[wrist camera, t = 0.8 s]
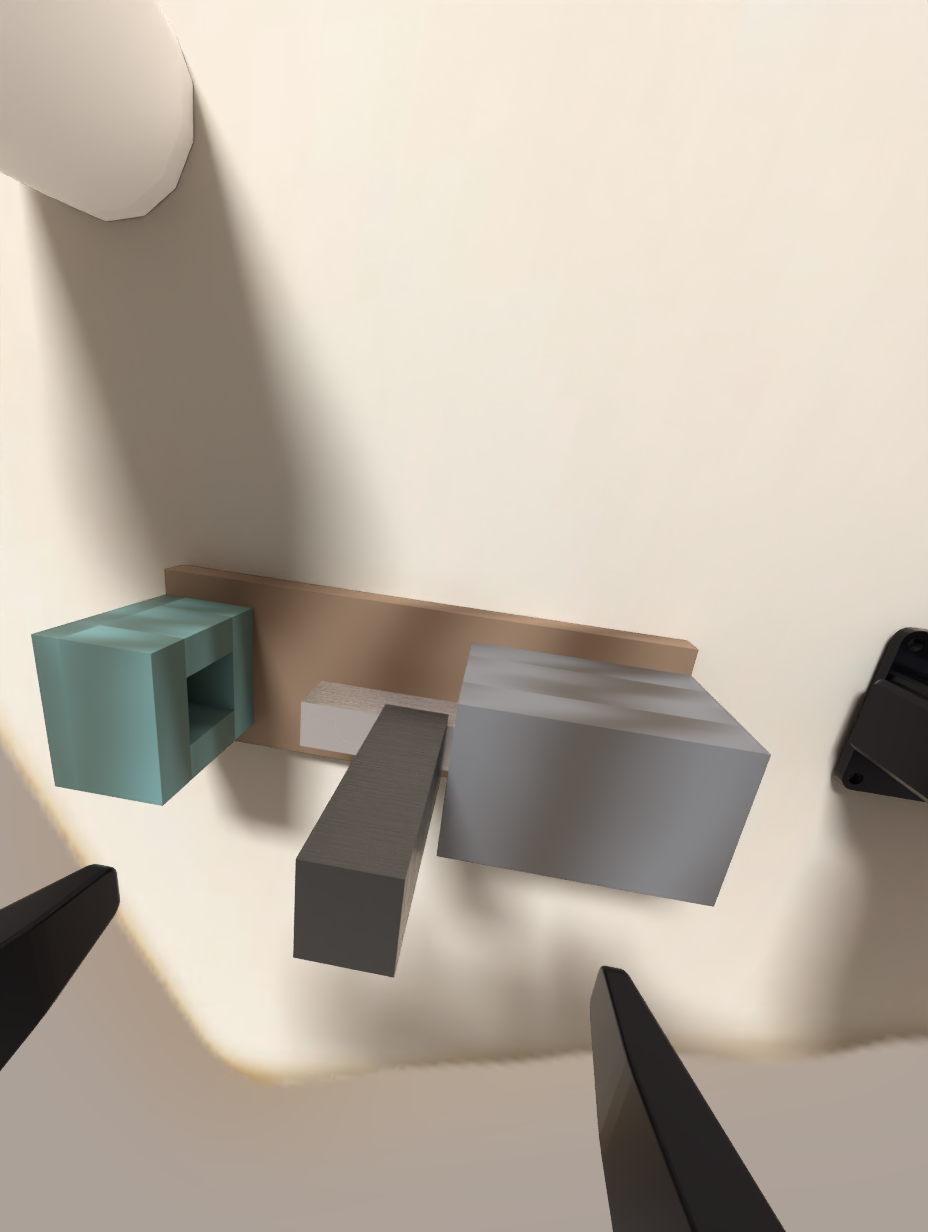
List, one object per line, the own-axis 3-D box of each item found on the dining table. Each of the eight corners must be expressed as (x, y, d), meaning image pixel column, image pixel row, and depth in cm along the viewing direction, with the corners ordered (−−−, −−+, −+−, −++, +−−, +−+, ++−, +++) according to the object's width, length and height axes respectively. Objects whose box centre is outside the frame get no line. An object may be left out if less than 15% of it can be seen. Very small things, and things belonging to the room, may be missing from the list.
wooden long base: (687, 640, 16) (783, 719, 11) (642, 795, 18) (703, 932, 13) (183, 564, 18) (25, 599, 12) (191, 718, 20) (59, 812, 14)
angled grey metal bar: (694, 730, 15) (884, 969, 7) (675, 790, 15) (830, 1064, 8) (322, 670, 15) (153, 832, 8) (319, 730, 16) (161, 930, 9)
